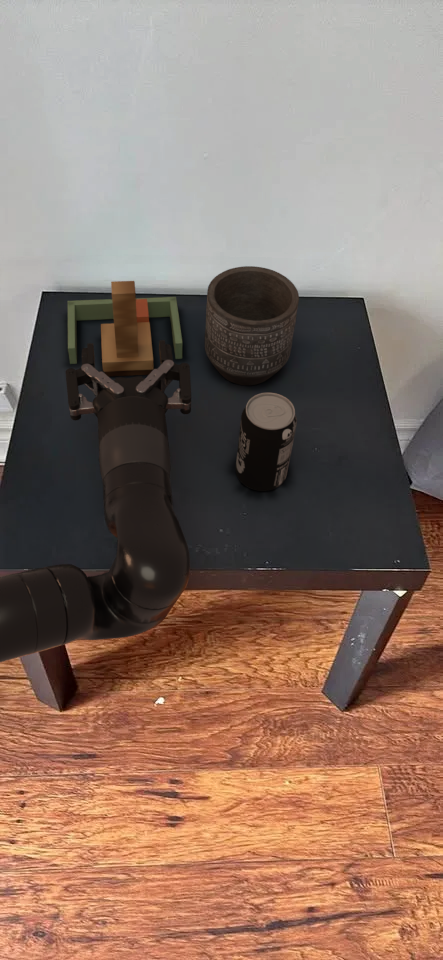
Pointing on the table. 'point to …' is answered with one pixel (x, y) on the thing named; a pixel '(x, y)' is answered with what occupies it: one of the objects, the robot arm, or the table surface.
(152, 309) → the corral
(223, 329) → the planter
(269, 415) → the beverage can
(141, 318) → the red cube
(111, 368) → the stamp
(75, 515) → the table surface
